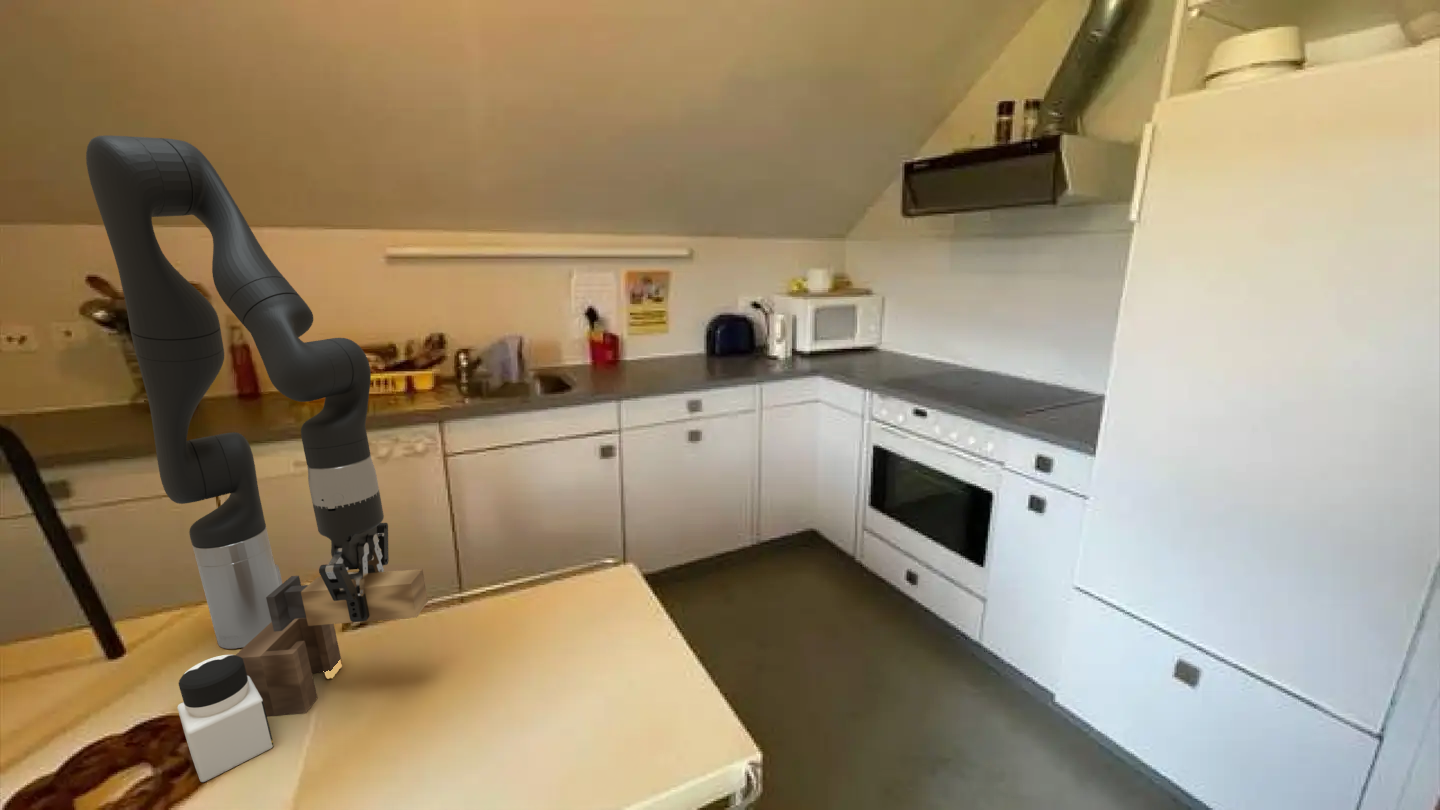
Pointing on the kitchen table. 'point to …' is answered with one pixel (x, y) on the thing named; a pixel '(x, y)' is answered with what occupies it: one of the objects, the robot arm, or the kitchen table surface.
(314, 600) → the oak rail
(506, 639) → the kitchen table surface
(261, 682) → the wooden u-shaped block
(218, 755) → the medicine bottle
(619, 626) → the kitchen table surface
